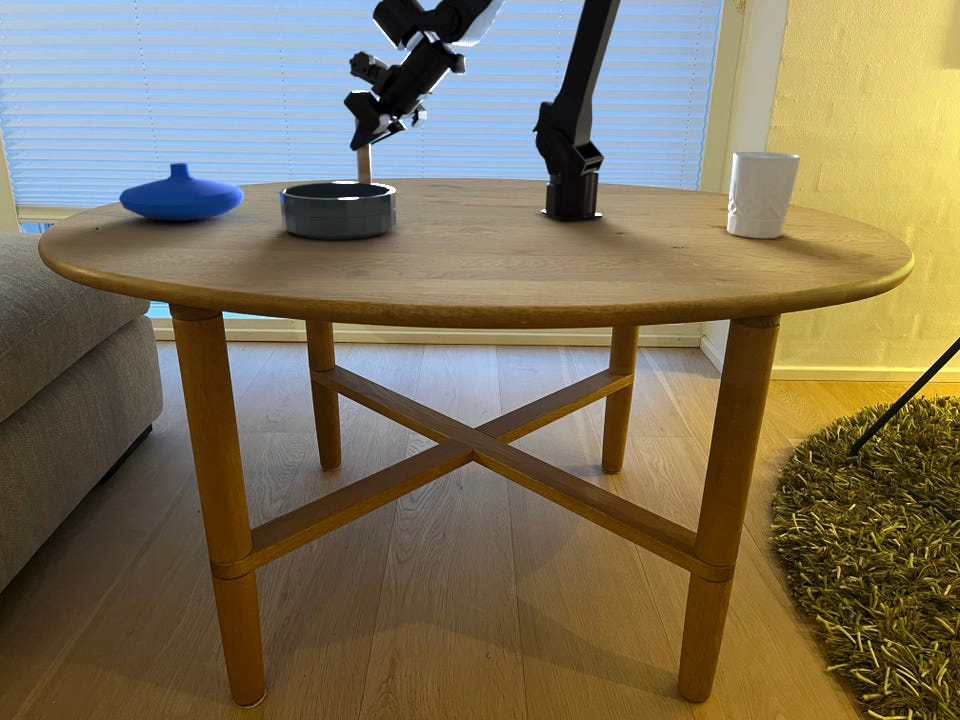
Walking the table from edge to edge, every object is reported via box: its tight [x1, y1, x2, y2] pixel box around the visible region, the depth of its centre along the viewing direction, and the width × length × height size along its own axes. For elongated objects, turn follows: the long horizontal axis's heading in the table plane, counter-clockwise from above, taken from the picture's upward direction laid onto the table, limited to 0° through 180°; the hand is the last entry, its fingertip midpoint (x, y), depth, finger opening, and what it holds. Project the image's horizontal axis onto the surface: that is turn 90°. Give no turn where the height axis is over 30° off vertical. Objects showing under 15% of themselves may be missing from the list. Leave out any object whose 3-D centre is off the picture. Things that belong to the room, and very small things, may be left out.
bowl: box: [279, 181, 397, 241], centre depth 89 cm, size 14×14×5 cm
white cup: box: [726, 151, 801, 240], centre depth 90 cm, size 8×8×10 cm
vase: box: [118, 162, 245, 222], centre depth 94 cm, size 16×16×7 cm
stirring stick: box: [354, 116, 373, 184], centre depth 110 cm, size 5×5×14 cm
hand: (355, 148), depth 111 cm, fingers closed on stirring stick, 2 cm apart
